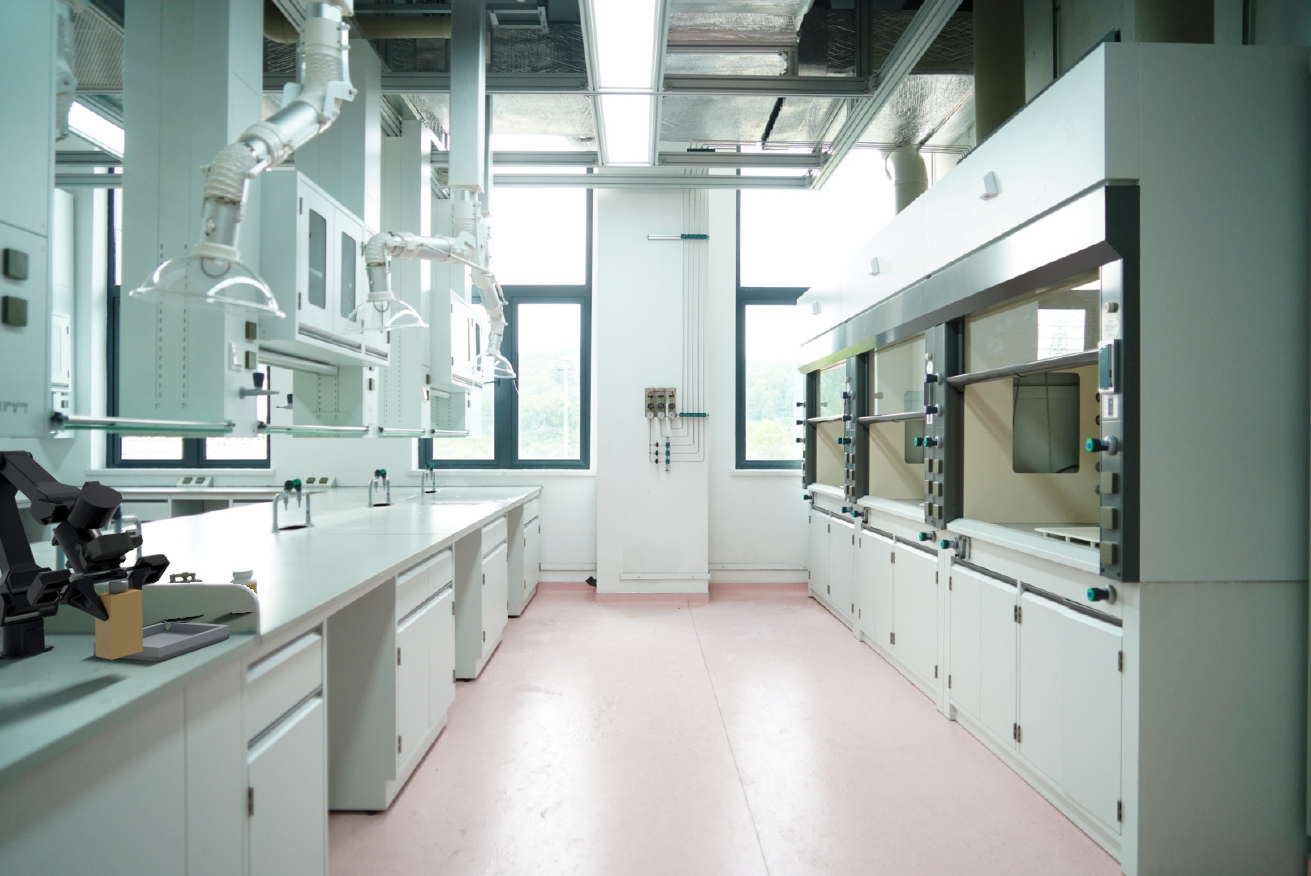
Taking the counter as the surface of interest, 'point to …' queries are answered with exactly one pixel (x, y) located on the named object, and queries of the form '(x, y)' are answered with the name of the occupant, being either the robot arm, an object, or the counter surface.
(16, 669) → the counter surface
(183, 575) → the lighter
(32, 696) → the counter surface
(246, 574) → the supplement bottle
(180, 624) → the tray
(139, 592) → the reagent bottle
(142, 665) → the counter surface
